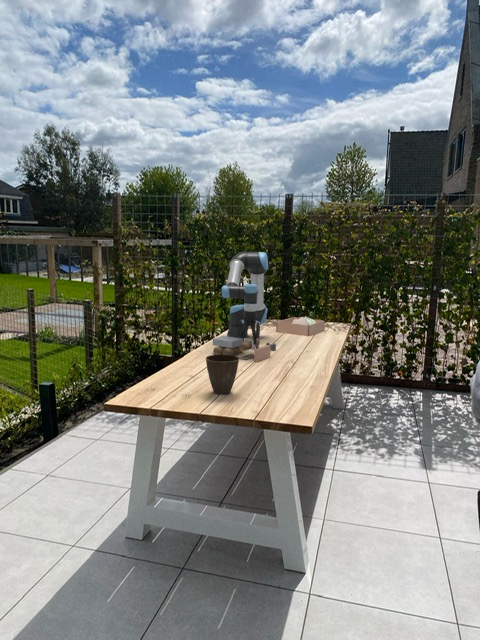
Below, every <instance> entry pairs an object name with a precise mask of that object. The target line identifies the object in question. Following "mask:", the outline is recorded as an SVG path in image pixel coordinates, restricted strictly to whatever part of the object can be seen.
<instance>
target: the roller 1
mask: <svg viewBox="0 0 480 640" xmlns="http://www.w3.org/2000/svg"><path fill="white" fill-rule="evenodd" d="M226 348H227V347H221V346H215V347H214V348H213V352H212V353H213V354H215V355H221V354H222V351H223V350H224V349H226Z"/></svg>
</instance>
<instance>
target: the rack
mask: <svg viewBox="0 0 480 640" xmlns="http://www.w3.org/2000/svg"><path fill="white" fill-rule="evenodd" d="M265 344H266V345H265V346H267V345H270V346H271V350H270V352H271V351H272V352H276V351H277V345H276V343H273V344H270V342H266V343H265ZM258 348H260V345H259V346H258V347H255V349H258Z"/></svg>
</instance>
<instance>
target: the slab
mask: <svg viewBox="0 0 480 640" xmlns="http://www.w3.org/2000/svg"><path fill="white" fill-rule="evenodd" d="M241 343H243V339H242V338H235V337H228V336H227V335H221V336H218V337H214V338H212V346H215V347H219V346H221V347H227V348H234V347H237V346H239V345H240V344H241Z"/></svg>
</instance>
